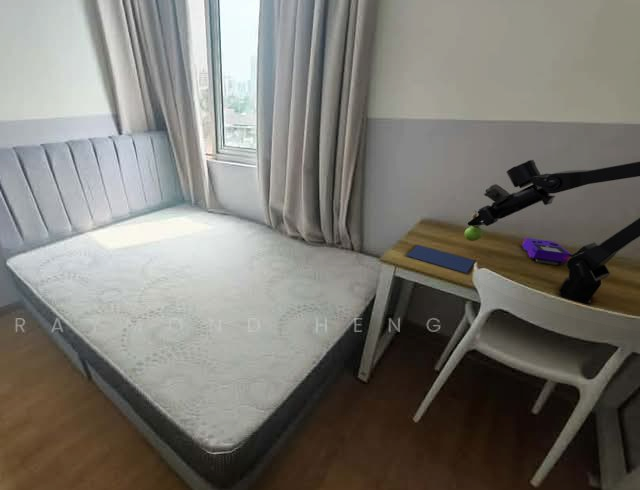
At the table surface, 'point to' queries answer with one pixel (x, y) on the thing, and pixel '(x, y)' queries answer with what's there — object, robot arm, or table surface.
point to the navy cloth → (441, 259)
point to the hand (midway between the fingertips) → (472, 222)
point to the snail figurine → (473, 230)
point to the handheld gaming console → (545, 251)
